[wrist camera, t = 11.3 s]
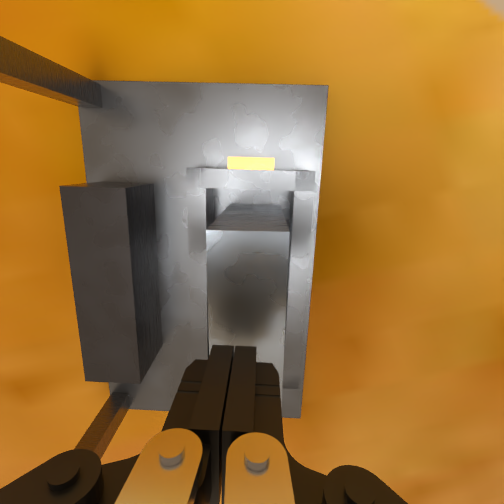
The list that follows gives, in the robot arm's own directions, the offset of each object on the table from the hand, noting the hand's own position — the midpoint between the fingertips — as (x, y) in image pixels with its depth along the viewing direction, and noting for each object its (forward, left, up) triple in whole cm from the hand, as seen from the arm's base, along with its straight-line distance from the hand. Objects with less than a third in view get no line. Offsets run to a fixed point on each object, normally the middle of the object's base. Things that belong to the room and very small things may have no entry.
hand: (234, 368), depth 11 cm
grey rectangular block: (0, 0, -10) cm, 10 cm away
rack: (+3, 0, -11) cm, 11 cm away
